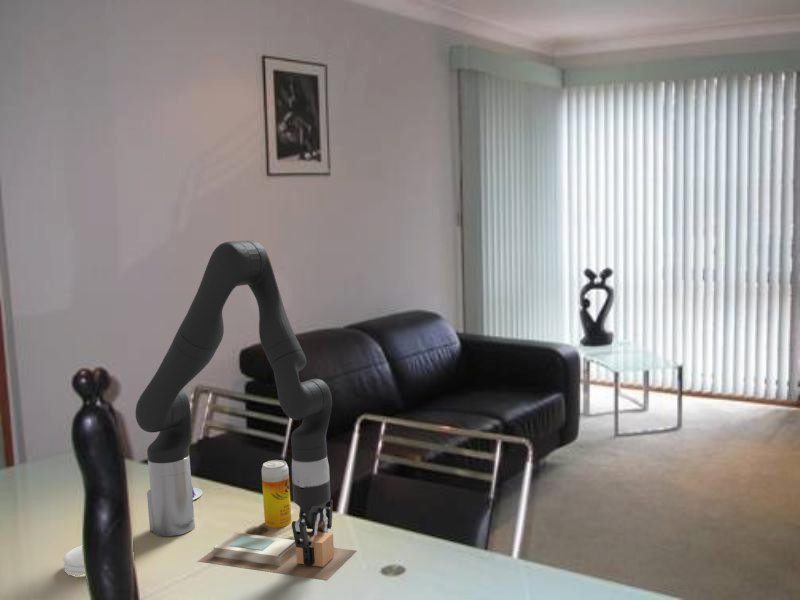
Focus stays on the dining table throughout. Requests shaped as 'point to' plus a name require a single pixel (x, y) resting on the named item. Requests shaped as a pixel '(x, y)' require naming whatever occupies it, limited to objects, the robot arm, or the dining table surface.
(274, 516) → the beer can
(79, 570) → the white frilly dome
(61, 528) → the dining table surface
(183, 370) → the robot arm
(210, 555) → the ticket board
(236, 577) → the dining table surface
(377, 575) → the dining table surface
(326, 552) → the light orange cube
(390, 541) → the dining table surface
